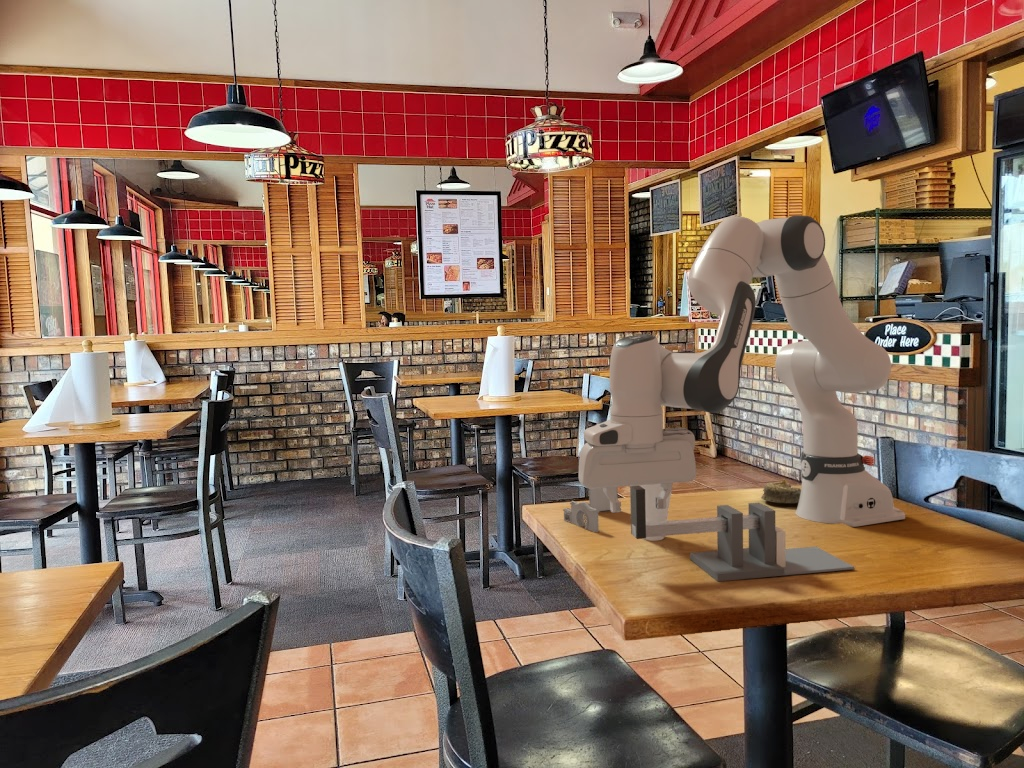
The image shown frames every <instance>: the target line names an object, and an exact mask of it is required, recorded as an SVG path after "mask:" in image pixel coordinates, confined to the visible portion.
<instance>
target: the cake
mask: <svg viewBox="0 0 1024 768" xmlns="http://www.w3.org/2000/svg"><path fill="white" fill-rule="evenodd" d="M762 491H763V494H762V496H761V497H760V498H761V499H762V500H763V501H768V502H771V503H777V504H798V503H799V499H800V493H801V487H797V486H793V487H792V485H791V483H789V482H787V480H786V479H785V477H784V478H783V479H782V480H781V481H775V482H768V483H766V484H765V485H764V488H763V489H762Z"/></svg>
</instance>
